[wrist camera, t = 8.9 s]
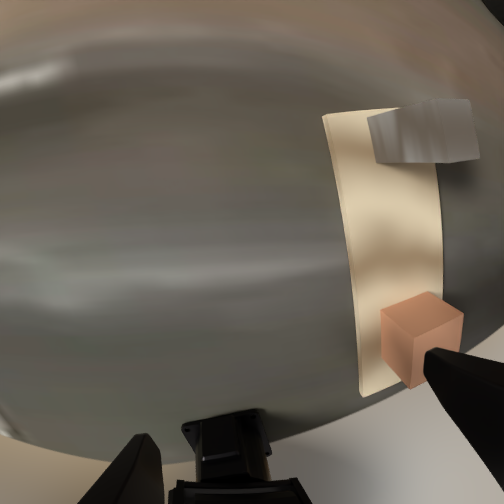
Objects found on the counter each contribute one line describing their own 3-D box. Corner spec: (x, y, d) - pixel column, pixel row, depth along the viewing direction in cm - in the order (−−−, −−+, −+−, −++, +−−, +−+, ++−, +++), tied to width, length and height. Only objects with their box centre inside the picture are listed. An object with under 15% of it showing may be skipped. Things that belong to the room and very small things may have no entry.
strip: (432, 359, 24) (481, 404, 17) (359, 392, 24) (400, 453, 16) (417, 108, 18) (494, 93, 11) (322, 116, 18) (387, 87, 10)
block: (425, 338, 22) (456, 364, 18) (381, 357, 22) (409, 389, 18) (427, 291, 21) (463, 313, 17) (380, 309, 21) (413, 338, 16)
